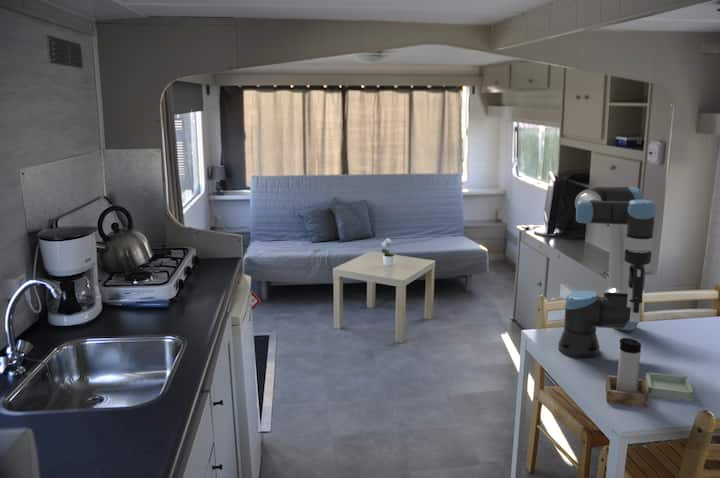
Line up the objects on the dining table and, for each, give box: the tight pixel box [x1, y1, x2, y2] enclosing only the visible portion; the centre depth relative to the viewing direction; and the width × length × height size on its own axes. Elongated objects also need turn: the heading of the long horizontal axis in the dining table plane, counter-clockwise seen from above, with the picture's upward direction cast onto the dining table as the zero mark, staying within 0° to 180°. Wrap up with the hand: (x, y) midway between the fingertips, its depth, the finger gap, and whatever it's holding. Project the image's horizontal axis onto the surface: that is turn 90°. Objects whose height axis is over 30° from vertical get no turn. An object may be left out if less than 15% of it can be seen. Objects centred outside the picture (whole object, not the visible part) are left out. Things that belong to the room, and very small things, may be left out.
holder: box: [605, 374, 649, 408], centre depth 199 cm, size 12×12×4 cm
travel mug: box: [615, 337, 642, 393], centre depth 197 cm, size 6×7×20 cm
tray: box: [644, 371, 694, 402], centre depth 202 cm, size 13×12×3 cm
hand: (632, 314), depth 193 cm, fingers open, 13 cm apart
